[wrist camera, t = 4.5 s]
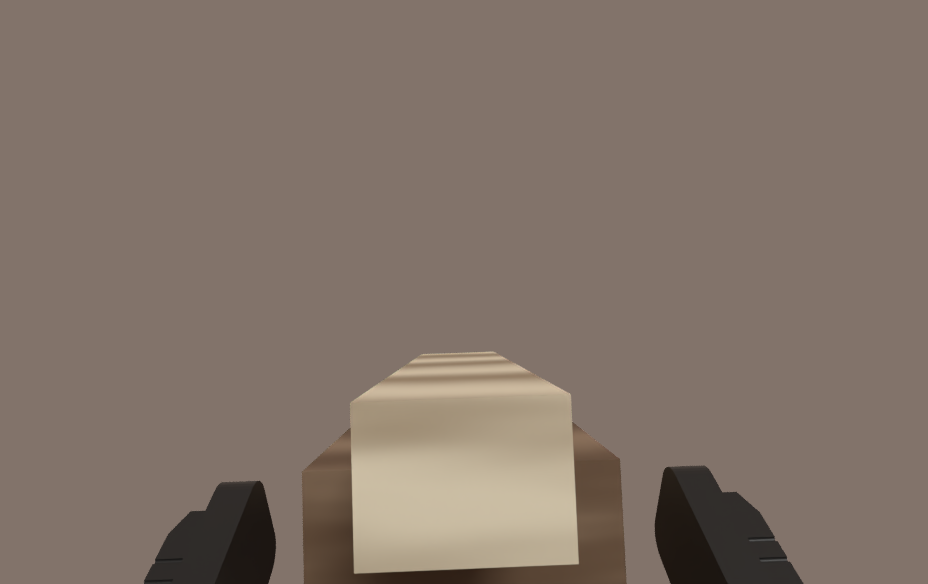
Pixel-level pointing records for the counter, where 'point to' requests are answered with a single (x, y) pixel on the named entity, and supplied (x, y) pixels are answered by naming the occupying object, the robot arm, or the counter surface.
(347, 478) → the wooden block stacks
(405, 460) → the slat
